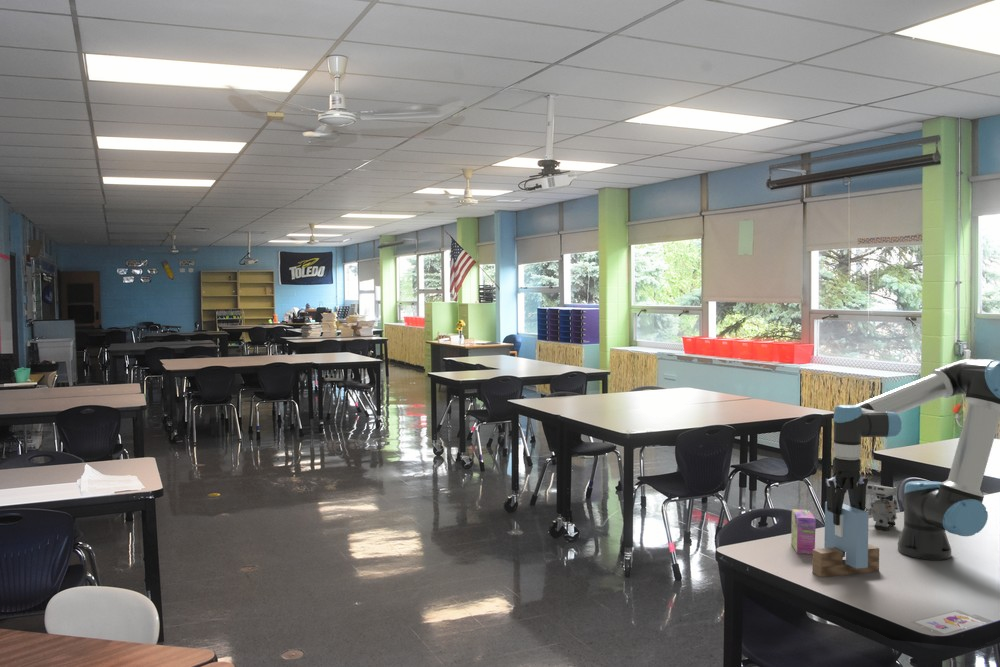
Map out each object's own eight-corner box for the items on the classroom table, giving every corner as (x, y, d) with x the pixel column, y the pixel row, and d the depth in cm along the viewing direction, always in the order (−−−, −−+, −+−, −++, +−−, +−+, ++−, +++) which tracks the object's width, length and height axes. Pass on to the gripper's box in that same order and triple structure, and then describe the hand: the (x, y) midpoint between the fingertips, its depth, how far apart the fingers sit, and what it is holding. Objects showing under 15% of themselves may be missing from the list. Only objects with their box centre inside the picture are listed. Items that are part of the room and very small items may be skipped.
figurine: (866, 521, 283) (866, 480, 283) (900, 527, 275) (900, 485, 275) (857, 526, 276) (858, 484, 276) (891, 532, 269) (892, 490, 268)
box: (815, 554, 245) (815, 518, 244) (796, 553, 246) (797, 517, 245) (809, 544, 255) (809, 509, 254) (791, 543, 256) (791, 508, 256)
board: (824, 553, 234) (825, 501, 234) (835, 552, 235) (836, 501, 235) (855, 568, 221) (856, 513, 220) (867, 567, 222) (868, 512, 221)
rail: (869, 566, 233) (869, 544, 232) (879, 571, 229) (879, 548, 228) (812, 572, 228) (812, 549, 228) (821, 577, 224) (821, 553, 224)
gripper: (862, 453, 233) (861, 529, 234) (813, 456, 229) (812, 533, 229) (880, 458, 226) (879, 536, 226) (830, 461, 221) (829, 540, 222)
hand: (845, 535), depth 228 cm, fingers closed on board, 4 cm apart
